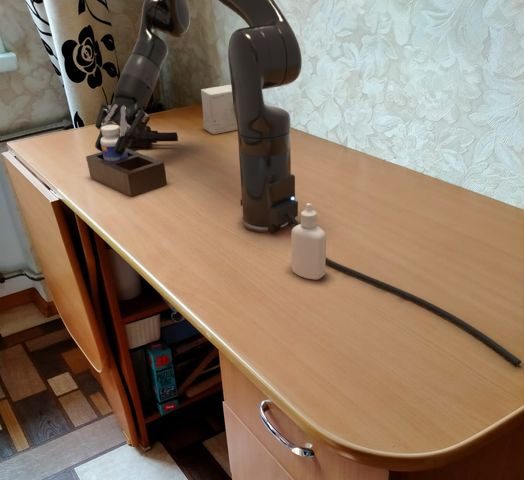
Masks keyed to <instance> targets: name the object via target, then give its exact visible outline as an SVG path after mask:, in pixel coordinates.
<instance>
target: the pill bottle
mask: <svg viewBox="0 0 524 480" xmlns="http://www.w3.org/2000/svg"><path fill="white" fill-rule="evenodd" d="M120 127H121V126H120ZM120 127H119V126H118V125H106V126H103V127H102V128H101V130H102V135H103V136H104V137H102V138H101V140H100V142H101V147H102V151H101V152H103V157H104V160H106V161H108V162H113V161H117V160H120V159H123V158H126V157H128V154H127V148H126V149H125V152H124V153H123V155H122V156H118V155H117V154H116V153H114V151H113V150H114V148H115V145H116V143H117V140H118V138H119V136H121V128H120Z"/></svg>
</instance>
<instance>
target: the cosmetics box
mask: <svg viewBox="0 0 524 480" xmlns="http://www.w3.org/2000/svg"><path fill="white" fill-rule="evenodd" d="M200 95H201V107H202V108H201V109H202V120H203V129H204V130H205V131H207V132H208V133H210V134H212V135H217V134H222V133H228V132H232V131H233V132H234V131H238V129H237V121H236V117H235V113H234V107H233V96H232V87H231V84H226V85H219V86H213V87H207V88H202V89H201V88H200Z"/></svg>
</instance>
